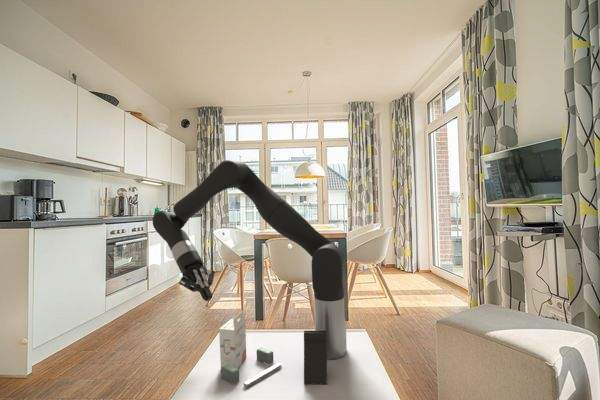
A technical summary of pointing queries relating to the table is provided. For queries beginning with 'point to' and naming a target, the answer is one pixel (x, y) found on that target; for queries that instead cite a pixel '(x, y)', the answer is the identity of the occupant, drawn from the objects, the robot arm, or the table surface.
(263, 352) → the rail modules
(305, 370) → the phone stand
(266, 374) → the rail
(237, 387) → the table surface
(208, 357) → the table surface
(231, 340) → the ink cartridge box
